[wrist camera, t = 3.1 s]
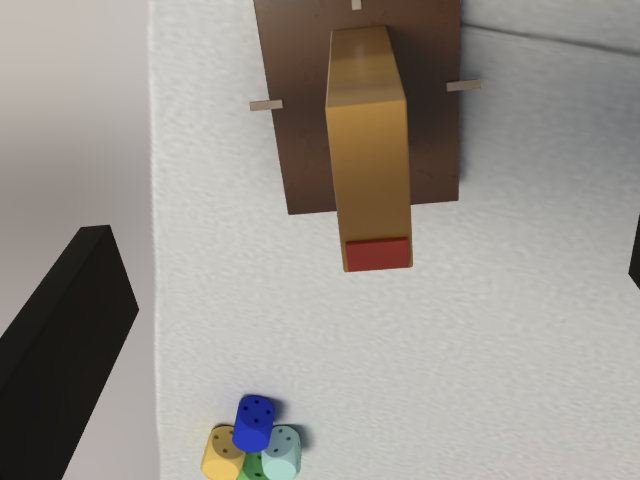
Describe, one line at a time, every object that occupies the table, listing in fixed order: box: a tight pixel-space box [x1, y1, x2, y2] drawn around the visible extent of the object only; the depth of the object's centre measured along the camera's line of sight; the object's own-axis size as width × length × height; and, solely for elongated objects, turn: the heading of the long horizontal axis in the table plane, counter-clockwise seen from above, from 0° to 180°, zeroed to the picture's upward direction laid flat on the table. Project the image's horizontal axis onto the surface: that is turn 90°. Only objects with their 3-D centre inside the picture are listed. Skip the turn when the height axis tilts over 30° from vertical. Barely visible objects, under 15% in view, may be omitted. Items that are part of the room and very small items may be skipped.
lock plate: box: [249, 0, 481, 215], centre depth 26 cm, size 11×10×2 cm
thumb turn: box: [325, 25, 413, 272], centre depth 21 cm, size 6×2×9 cm, turn 7°
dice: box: [201, 396, 301, 480], centre depth 39 cm, size 8×3×6 cm
